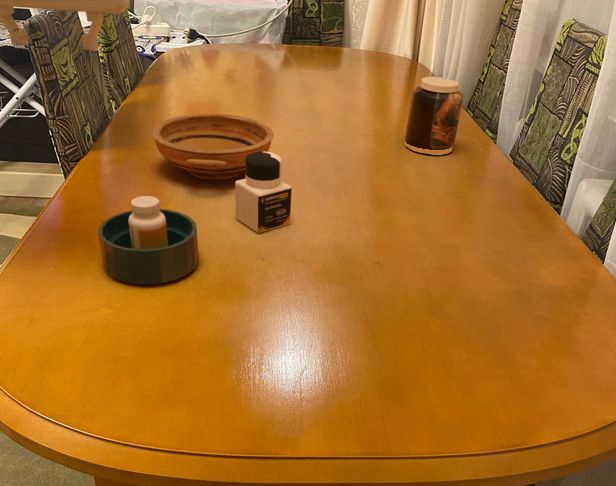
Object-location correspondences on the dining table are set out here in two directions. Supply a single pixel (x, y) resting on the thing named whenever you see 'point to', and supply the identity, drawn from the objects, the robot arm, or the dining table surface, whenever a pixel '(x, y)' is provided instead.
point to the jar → (434, 114)
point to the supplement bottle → (147, 224)
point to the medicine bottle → (263, 193)
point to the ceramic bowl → (211, 143)
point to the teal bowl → (149, 250)
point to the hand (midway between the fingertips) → (55, 47)
